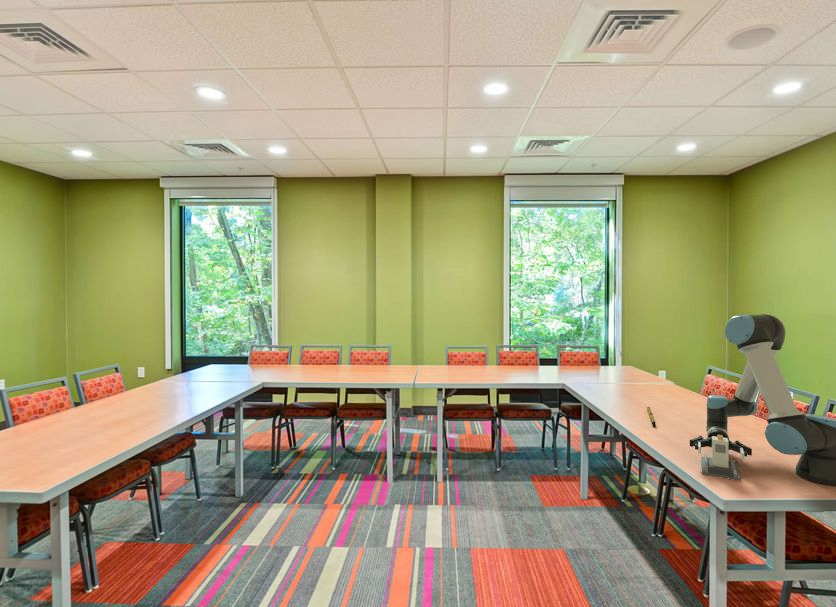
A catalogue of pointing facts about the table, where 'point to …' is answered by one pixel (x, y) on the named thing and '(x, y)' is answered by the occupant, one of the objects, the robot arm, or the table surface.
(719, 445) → the din module
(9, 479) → the table surface
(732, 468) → the rail board
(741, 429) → the table surface
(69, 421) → the table surface
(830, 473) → the robot arm
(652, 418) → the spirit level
